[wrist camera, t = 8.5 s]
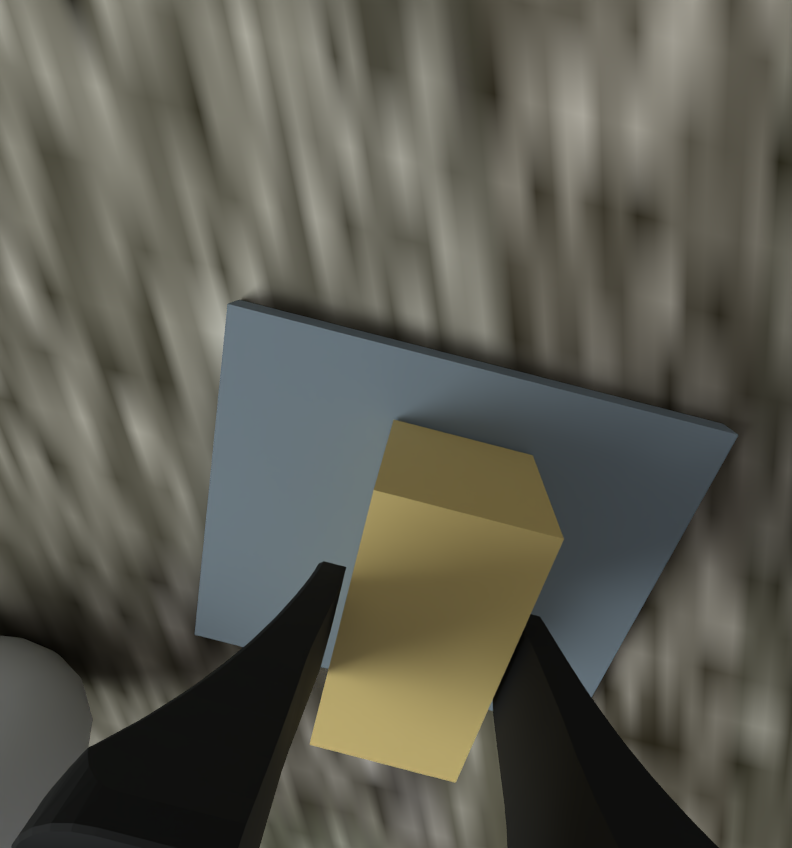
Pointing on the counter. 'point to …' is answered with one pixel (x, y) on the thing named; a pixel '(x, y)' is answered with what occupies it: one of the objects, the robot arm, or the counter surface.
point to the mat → (450, 413)
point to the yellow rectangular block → (435, 600)
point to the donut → (36, 728)
